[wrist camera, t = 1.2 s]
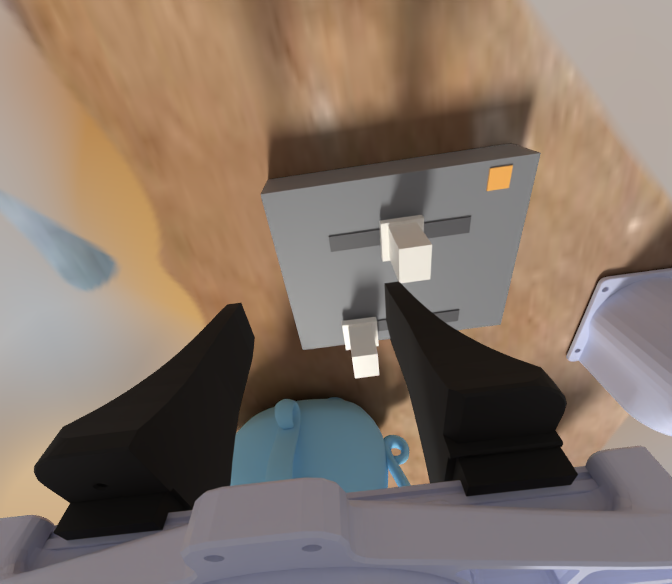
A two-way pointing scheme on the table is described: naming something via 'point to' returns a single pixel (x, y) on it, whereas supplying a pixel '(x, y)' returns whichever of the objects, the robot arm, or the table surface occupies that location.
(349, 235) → the slider control panel
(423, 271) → the handle
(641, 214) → the table surface
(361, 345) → the on handle
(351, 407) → the decorative pot
